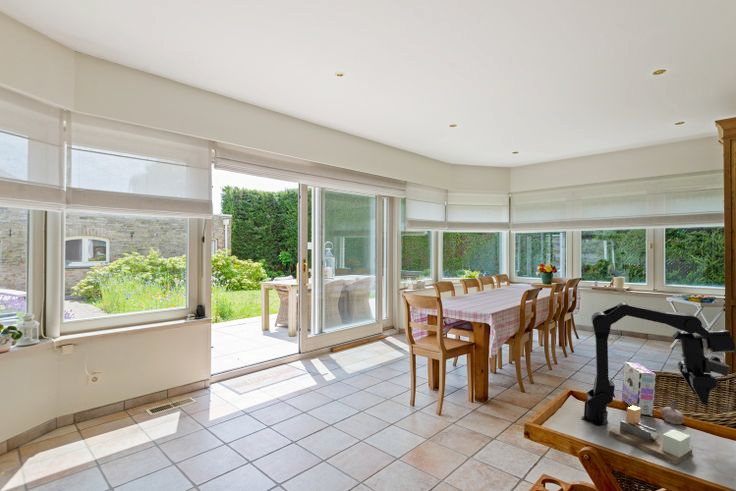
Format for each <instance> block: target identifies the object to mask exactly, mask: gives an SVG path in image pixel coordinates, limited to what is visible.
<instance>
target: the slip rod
mask: <svg viewBox="0 0 736 491" xmlns="http://www.w3.org/2000/svg"><path fill="white" fill-rule="evenodd" d="M640 414H641V408H639V407H637V406H634V405H632V406H630V407H629V406H627V407H626V417H625V419H622V420H621V421H624V422H626V423H629V424H631V425H634V426H636V427H639V428H641V429H643V430H646V431H648V432H651V439H653V440H657V439H658V436H659V433H658V432H657V431H656V432H654V431H651V430H649V429H646V428H644V427H641V426H639V425H638V423H640V422H641V415H640Z"/></svg>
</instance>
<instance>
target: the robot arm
mask: <svg viewBox="0 0 736 491" xmlns="http://www.w3.org/2000/svg"><path fill="white" fill-rule="evenodd" d="M626 316H627V317H631V318H632V317H633V318H635V319H636V318H637V319H641V320H645V321H649V322H655V323H659V324H665V325H667V326H670V327H672V328H675V329H676V330H677V331H676V332H675V333H673V334H672V336H671V337H672V338H673V339H674V340H680V346H681V352H680V356H681V357H682V359H683V360H679V361H678V362H677V368H678V370H679V373H680V375H681V376H682V377H683V378H684V380H685V382H686V383H687V385H688V387H689V388H690V390H691V392H692V393H693V395H697V397H698V398H699V401H700V402H701V403H702V405H708V404H709V397H710V394H711V393H710V392H711V390H713V389H716V388H717V387H719V382H718V381H719V380H718V379H717V378H716V377H715V376H713V375H712V372H713V373H717V374H719V375H722V376H724V377H728V376H729V373H730V370H731V366H729V365H728V364H727V363H725V362H723V361H721V358H719V357H717V356H714V355H712V356H711V357H708V356H707V355H706V353H705V349H706V350H709V351H710V352H711V353H735V351H736V343H735V342H734V339H733V336H732V335H731V331H729V330H726V329H723V330H709V329H707V328H705V327H703V322H702V320H701V319H700V318H699V317H696V315H693V314H691V313H688V312H677V311H675V312H672V311H671V312H667V311H661V310H657V309H652V308H646V307H642V306H637V305H634V304H633V305H632V304H628V303H626V302H620V303H618V304H616V305H615V306H613V307H611V308H607V309H605V310H603V311H597V312H594V313H593V314H592V315H591V324H592V328H593V333H594V336H595V365H596V366H595V371H596V374H595V377H594V382H593V387H592V389H590V390H589V391H587V392H586V393H585V394H586V400H584V408H583V416H581V417H580V418H581V419H582V420H584V421H586V422H588V423H591V424H593V425H596V426H598V427H599V426H603V425H605V424H608V423H609V420H608V410H607V406H608V405H610V404H611V403H613V401H614V400H613V399H614V398H616V395H615V386H616V385H615V383H614V381H613V380H612V379H611V380H610V379H609V351H608V350H609V346H608V342H609V336H610V333H611V327H612V325H614V324H615V323H617V322H618V321H620V320H621V319H623V318H624V317H626ZM679 330H680V331H679ZM681 331H683V332H681ZM696 334H697V335H696Z"/></svg>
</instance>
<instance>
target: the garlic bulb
mask: <svg viewBox="0 0 736 491" xmlns="http://www.w3.org/2000/svg"><path fill="white" fill-rule="evenodd" d="M676 402H677V400H674V399H672V400H671V404H670V406H664V407H662V409H661V416H662V417H663V419H664V421H665V422H668V423H671V424H673V425H682V424H683V423H684V421H685V416H684V414H683V413H682V412H681V411H680V410H678V409H676Z"/></svg>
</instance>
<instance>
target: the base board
mask: <svg viewBox="0 0 736 491" xmlns="http://www.w3.org/2000/svg"><path fill="white" fill-rule="evenodd" d="M608 436H611V437H613V438H616V439H617V440H620V441H622V442H624V443H626V444H629V445H631V446H633V447H635V448H638V449H639V450H642V451H644V452H645V453H646V452H647V453H648V454H651V455H652V456H655V457H657V458H659V459H661V460H664V461H667V462H669V463H670V464H673V465H678V464H679V463H681V461H683V460H685V459H687V458H689V457H690V456H691V455H692V454H693V448H691V447H689V452H687V453H686V454H684V455H683V456H681V457H677V456H675V455H672V454H670V453H668V452H665V451H663V450H662V443H663V436H661V435H658V439H657V440H654V441H652V442H647V441H645V440H643V439H640V438H638V437H636V436H633V435H631V434H629V433H626V432H624V431H622V430H620V425H617V426H615V427H614V428H612V429H609V430H608Z"/></svg>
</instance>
